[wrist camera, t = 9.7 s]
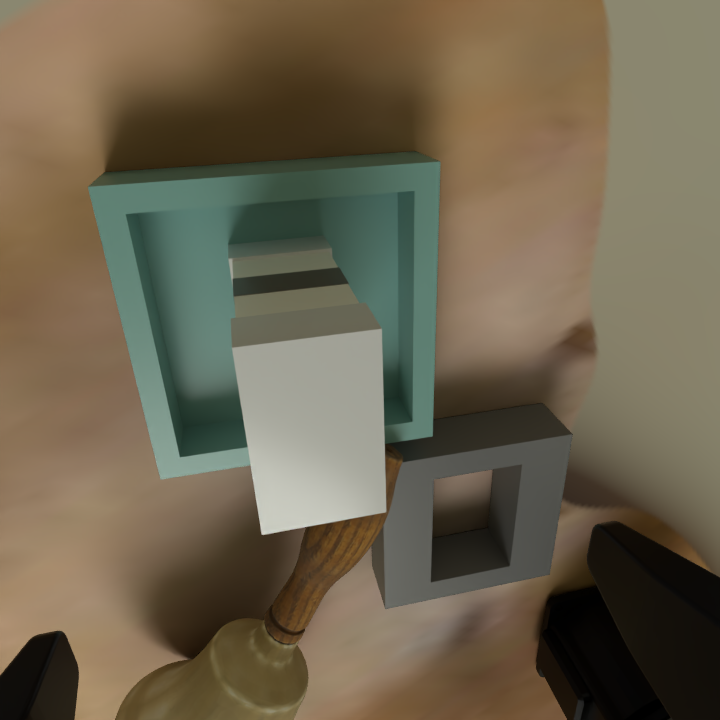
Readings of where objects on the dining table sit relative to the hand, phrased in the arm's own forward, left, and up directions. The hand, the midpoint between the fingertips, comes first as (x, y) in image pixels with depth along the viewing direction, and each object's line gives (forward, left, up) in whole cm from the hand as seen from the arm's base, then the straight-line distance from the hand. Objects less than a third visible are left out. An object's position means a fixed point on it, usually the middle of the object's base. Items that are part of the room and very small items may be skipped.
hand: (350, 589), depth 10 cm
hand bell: (+5, +18, -9) cm, 21 cm away
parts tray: (0, 0, -13) cm, 13 cm away
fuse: (0, 0, -12) cm, 12 cm away
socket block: (-7, +10, -13) cm, 18 cm away
